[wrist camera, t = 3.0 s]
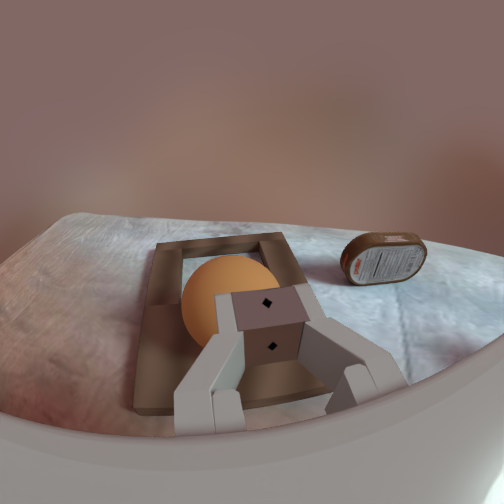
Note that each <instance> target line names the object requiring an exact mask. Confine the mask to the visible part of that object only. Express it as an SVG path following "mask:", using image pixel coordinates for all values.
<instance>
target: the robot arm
mask: <svg viewBox="0 0 504 504" xmlns="http://www.w3.org/2000/svg"><path fill="white" fill-rule="evenodd" d="M214 302H215V311H216V321H217V330H218V334H214V335H212V337H211V338H210V340H209V341H208V343H207V344H206V346H205V347H204V349H203V350H202V352H201V353H200V355H199V356H198V358H197V359H196V361H195V362H194V364H193V365H192V366H191V368H190V369H189V371H188V372H187V374H186V375H185V377H184V378H183V380H182V381H181V383H180V384H179V386H178V387H177V388H176V390H175V391H174V425H175V437H141V436H123V435H111V434H101V433H93V432H85V431H78V430H72V429H67V428H61V427H56V426H51V425H47V424H42V423H38V422H34V421H30V420H26V419H23V418H19V417H16V416H12V415H9V414H6V413H3V412H0V504H504V333H503V334H502V335H501V336H499V337H498V338H496V339H495V340H493V341H492V342H490V343H489V344H487V345H485V346H484V347H482V348H481V349H479V350H477V351H476V352H474V353H473V354H471V355H469V356H467V357H466V358H464V359H462V360H460V361H459V362H457V363H455V364H453V365H451V366H449V367H448V368H446V369H444V370H442V371H440V372H438V373H436V374H434V375H432V376H430V377H428V378H425V379H423V380H421V381H419V382H417V383H415V384H412V385H410V386H409V385H408V384H407V382H406V380H405V378H404V376H403V375H402V373H401V371H400V369H399V367H398V366H397V364H396V362H395V360H394V359H393V357H392V355H391V353H389V352H388V351H386V350H384V349H383V348H381V347H379V346H378V345H376V344H374V343H373V342H371V341H369V340H368V339H366V338H364V337H363V336H361V335H359V334H358V333H356V332H354V331H353V330H351V329H349V328H348V327H346V326H344V325H343V324H341V323H339V322H338V321H336V320H334V319H333V318H331V317H330V318H326V316H325V314H324V312H323V310H322V308H321V306H320V304H319V302H318V300H317V298H316V296H315V294H314V292H313V290H312V289H311V287H310V285H309V284H308V283H304V284H297V285H292V286H285V287H277V288H269V289H262V290H251V291H240V292H231V293H220V294H214ZM296 359H297V361H298V362H299V363H300V364H301V365H303V366H304V367H305V368H306V369H307V370H308V371H309V372H310V373H312V374H313V375H314V376H315V377H316V378H317V379H318V380H320V381H321V382H322V383H323V384H324V385H325V386H327V387H328V388H329V389H330V390H331V391H332V392H334V393H333V395H332V396H331V398H330V400H329V402H328V404H327V406H326V408H325V411H326V414H327V415H324V416H320V417H316V418H312V419H308V420H304V421H300V422H295V423H291V424H286V425H281V426H275V427H270V428H264V429H258V430H251V431H247V430H246V425H245V420H244V415H243V410H242V404H241V399H240V394H239V392H237V391H236V388H237V386H238V384H239V382H240V379H241V377H242V375H243V373H244V371H245V368H246V367H252V366H258V365H264V364H270V363H276V362H283V361H290V360H296Z"/></svg>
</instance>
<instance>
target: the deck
mask: <svg viewBox="0 0 504 504" xmlns="http://www.w3.org/2000/svg"><path fill="white" fill-rule="evenodd" d="M257 251H259V252H260V255H261V258H262V261H263V264H264V266H265V267H266V268H267V269H268V270H269V271H270V272H271V273H272V274H273V276H274V277H275V278H276V280H277V282H278V284H279V286H280V287H285V286H292V285H297V284H304V283H308V282H307V280H306V278H305V276H304V274H303V272H302V270H301V268H300V266H299V264H298V262H297V260H296V258H295V257H294V255H293V253H292V251H291V249H290V247H289V245H288V243H287V241H286V239H285V237H284V235H283V234H282V232H274V233H262V234H250V235H239V236H228V237H217V238H206V239H196V240H186V241H176V242H166V243H157V245H156V250H155V254H154V259H153V264H152V269H151V274H150V279H149V284H148V289H147V295H146V301H145V307H144V313H143V319H142V326H141V333H140V340H139V348H138V356H137V365H136V375H135V386H134V399H133V408H134V409H135V411H136V412H137V413H138V414H139V415H142V416H166V415H174V391H175V390H176V388H177V387H178V386H179V384H180V383H181V381H182V380H183V378H184V377H185V375H186V374H187V372H188V371H189V369H190V368H191V366H192V365H193V364H194V362H195V361H196V359H197V358H198V356H199V355H200V353H201V352H202V350H203V349H204V348H203V347H202V346H200V345H199V344H198V343H197V342H196V341H195V340H194V339H193V338H192V336H191V335H190V333H189V332H188V330H187V328H186V326H185V323H184V320H183V317H182V310H181V289H182V268H183V259H185V258H195V257H205V256H216V255H226V254H237V253H247V252H257ZM236 391H237V392H239V394H240V399H241V404H242V410H245V409H252V408H258V407H265V406H271V405H276V404H282V403H287V402H292V401H297V400H301V399H306V398H310V397H315V396H319V395H323V394H327V393H331V392H332V391H331V390H330V389H329V388H328V387H327V386H325V385H324V384H323V383H322V382H321V381H320V380H318V379H317V378H316V377H315V376H314V375H313V374H312V373H310V372H309V371H308V370H307V369H306V368H305V367H304V366H303V365H301V364H300V363H299V362H298V361H297V359H296V360H290V361H283V362H276V363H270V364H264V365H258V366H252V367H246V368H245V371H244V373H243V375H242V377H241V379H240V382H239V384H238V386H237V388H236Z"/></svg>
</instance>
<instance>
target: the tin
mask: <svg viewBox="0 0 504 504" xmlns="http://www.w3.org/2000/svg"><path fill="white" fill-rule="evenodd" d="M426 256H427V248H426V246H425V245H424V243H423V242H422V241H421V239H420V238H419V236H418V235H417V234H415V233H412V232H370V233H365V234H362V235H360V236H358V237H356V238H355V239H353V240H352V241H351V242H350V243H349V244H348V245H347V246H346V247H345V249H344V250H343V252H342V255H341V258H340V265H341V268H342V270H343V271H344V273H345V275H346V277H347V278H348V280H349V281H350V282H352V283H353V284H355V285H359V286H365V285H376V284H386V283H395V282H402V281H405V280H408V279H410V278H411V277H413V276H414V275H415V274H416V273H417V272H418V271H419V270H420V269H421V267H422V265H423V263H424V261H425V259H426Z"/></svg>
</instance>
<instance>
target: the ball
mask: <svg viewBox="0 0 504 504" xmlns="http://www.w3.org/2000/svg"><path fill="white" fill-rule="evenodd" d="M277 287H280V286H279V284H278V282H277V280H276V278H275V277H274V276H273V274H272V273H271V272H270V271H269V270H268V269H267V268H266V267H264V266H263V265H262V264H260V263H259V262H257V261H255V260H253V259H250V258H248V257H244V256H237V255H227V256H221V257H217V258H214V259H212V260H210V261H208V262H206V263H204V264H203V265H201V266H200V267H199V268H198V269H197V270H196V271H195V272H194V273H193V274H192V275H191V277H190V278H189V280H188V282H187V284H186V286H185V288H184V291H183V295H182V301H181V310H182V317H183V320H184V323H185V326H186V328H187V330H188V332H189V333H190V335H191V336H192V338H193V339H194V340H195V341H196V342H197V343H198V344H199V345H200V346H202V347H203V348H204V347H205V346H206V344H207V343H208V341H209V340H210V338H211V337H212V335H214V334H218V330H217V321H216V311H215V302H214V294H220V293H231V292H240V291H251V290H262V289H269V288H277Z"/></svg>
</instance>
